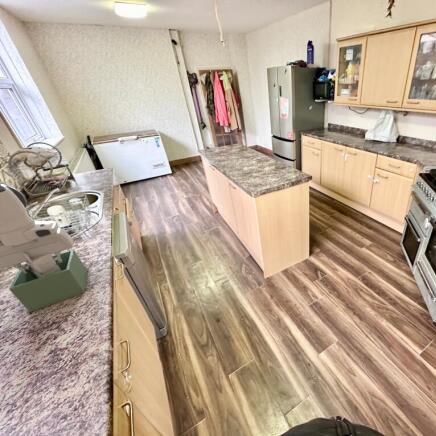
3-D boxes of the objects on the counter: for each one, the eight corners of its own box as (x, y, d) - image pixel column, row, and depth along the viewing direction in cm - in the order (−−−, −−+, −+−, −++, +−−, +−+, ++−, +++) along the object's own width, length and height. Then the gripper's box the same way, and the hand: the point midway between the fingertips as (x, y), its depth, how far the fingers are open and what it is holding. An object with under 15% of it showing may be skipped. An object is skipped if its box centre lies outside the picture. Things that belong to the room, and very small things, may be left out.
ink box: (68, 279, 85) (45, 246, 77) (51, 288, 81) (26, 254, 74) (56, 272, 88) (33, 240, 81) (40, 281, 84) (14, 248, 77)
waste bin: (29, 312, 78) (8, 289, 72) (39, 286, 88) (22, 264, 83) (84, 292, 85) (68, 269, 79) (87, 270, 95) (73, 249, 90)
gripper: (-33, 250, 67) (-1, 285, 74) (59, 227, 77) (79, 260, 84) (-24, 240, 72) (5, 274, 79) (62, 220, 82) (81, 251, 88)
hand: (44, 266), depth 81 cm, fingers closed on ink box, 7 cm apart
